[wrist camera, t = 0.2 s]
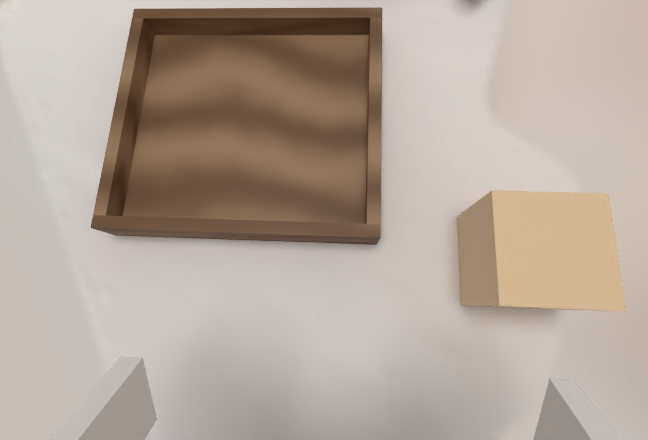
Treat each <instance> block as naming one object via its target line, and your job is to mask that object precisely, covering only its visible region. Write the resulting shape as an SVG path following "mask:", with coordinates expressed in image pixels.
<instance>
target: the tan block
mask: <svg viewBox="0 0 648 440" xmlns="http://www.w3.org/2000/svg"><path fill="white" fill-rule="evenodd" d="M457 230H458V254H459V277H460V301H461V305H468V306H491V307H513V308H535V309H559V310H595V311H596V310H597V311H626V307H625V301H624V294H623V287H622V280H621V273H620V267H619V260H618V254H617V247H616V239H615V232H614V226H613V219H612V212H611V205H610V198H609V194H602V193H563V192H523V191H491V192H489V193H488V194H487V195H485V196H484V197H483V198H481V199H480V200H479V201H477V202H476V203H475V204H473V205H472V206H471V207H470V208H468V209H467V210H466V211H464V212H463V213H462V214H460V215H459V216H458V217H457Z"/></svg>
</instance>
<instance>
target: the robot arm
mask: <svg viewBox="0 0 648 440" xmlns="http://www.w3.org/2000/svg"><path fill="white" fill-rule="evenodd" d="M156 420H157V418H156V414H155V409H154V405H153V401H152V396H151V392H150V388H149V383H148V379H147V375H146V370H145V366H144V362H143V358H131V357H121V358H120V359H119V360H118V361H117V362H116V363H115V365H114V366H113V367H112V368H111V369H110V370H109V371H108V372H107V374H106V375H105V376H104V377H103V378H102V379H101V381H100V382H99V383H98V384H97V385H96V386H95V387H94V388H93V390H92V391H91V392H90V393H89V394H88V395H87V396H86V398H85V399H84V400H83V401H82V402H81V403H80V404H79V406H78V407H77V408H76V409H75V410H74V411H73V412H72V414H71V415H70V416H69V417H68V418H67V419H66V420H65V421H64V423H63V424H62V425H61V426H60V427H59V428H58V429H57V431H56V432H55V433H54V434H53V435H52V436H51V437H50V439H49V440H144V439H145V438H146V436H147V434H148V433H149V431H150V429H151V428H152V426H153V425H154V423H155V421H156ZM534 440H622V439H621V438H620V437H619V435H618V434H617V433H616V431H615V430H614V429H613V427H612V426H611V425H610V424H609V422H608V421H607V420H606V418H605V417H604V416H603V415H602V413H601V412H600V411H599V409H598V408H597V407H596V405H595V404H594V403H593V402H592V400H591V399H590V398H589V396H588V395H587V394H586V392H585V391H584V390H583V389H582V387H581V386H580V385H579V383H578V382H577V381H576V380H570V379H549V383H548V387H547V390H546V394H545V398H544V402H543V406H542V409H541V413H540V417H539V421H538V425H537V428H536V432H535V436H534Z"/></svg>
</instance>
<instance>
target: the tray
mask: <svg viewBox="0 0 648 440" xmlns="http://www.w3.org/2000/svg"><path fill="white" fill-rule="evenodd" d="M381 100H382V8H214V9H134V12H133V17H132V22H131V27H130V32H129V37H128V42H127V47H126V52H125V57H124V62H123V67H122V72H121V78H120V83H119V88H118V93H117V98H116V103H115V108H114V113H113V118H112V123H111V128H110V133H109V138H108V143H107V148H106V153H105V158H104V163H103V168H102V173H101V178H100V183H99V188H98V193H97V198H96V203H95V208H94V213H93V219H92V224H91V228H93V229H96V230H100V231H103V232H106V233H110V234H113V235H125V236H153V237H182V238H210V239H238V240H267V241H295V242H323V243H352V244H377V243H378V241H379V239H380V222H381Z"/></svg>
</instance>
